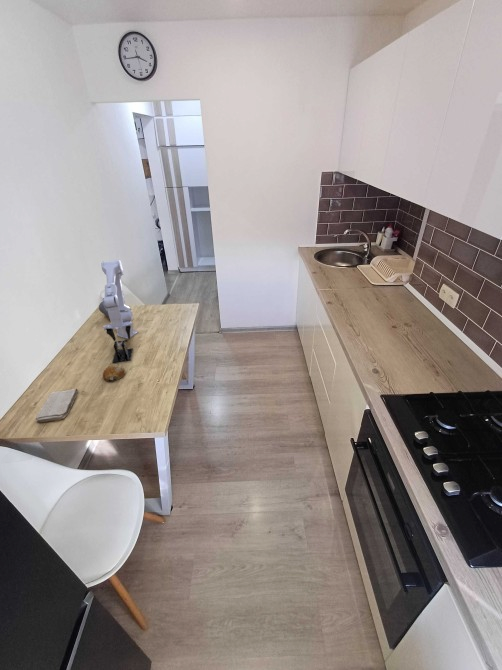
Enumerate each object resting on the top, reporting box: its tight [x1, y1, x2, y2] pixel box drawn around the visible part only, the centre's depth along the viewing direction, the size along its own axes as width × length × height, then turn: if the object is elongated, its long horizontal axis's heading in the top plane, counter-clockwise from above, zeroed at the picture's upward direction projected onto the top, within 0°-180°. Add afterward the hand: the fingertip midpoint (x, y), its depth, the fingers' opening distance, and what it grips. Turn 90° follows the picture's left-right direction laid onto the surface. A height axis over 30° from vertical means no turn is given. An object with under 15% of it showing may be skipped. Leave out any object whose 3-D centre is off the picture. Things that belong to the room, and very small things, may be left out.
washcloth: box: [35, 388, 79, 423], centre depth 139 cm, size 12×18×3 cm, turn 9°
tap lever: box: [117, 339, 129, 350], centre depth 170 cm, size 10×5×2 cm, turn 12°
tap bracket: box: [112, 339, 134, 364], centre depth 168 cm, size 11×9×9 cm
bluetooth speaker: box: [98, 301, 126, 318], centre depth 205 cm, size 23×9×10 cm, turn 49°
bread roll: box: [102, 363, 126, 383], centre depth 155 cm, size 10×10×8 cm
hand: (122, 339), depth 173 cm, fingers open, 7 cm apart
